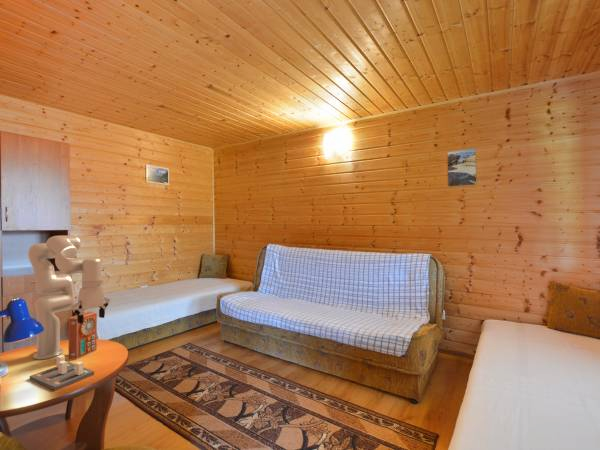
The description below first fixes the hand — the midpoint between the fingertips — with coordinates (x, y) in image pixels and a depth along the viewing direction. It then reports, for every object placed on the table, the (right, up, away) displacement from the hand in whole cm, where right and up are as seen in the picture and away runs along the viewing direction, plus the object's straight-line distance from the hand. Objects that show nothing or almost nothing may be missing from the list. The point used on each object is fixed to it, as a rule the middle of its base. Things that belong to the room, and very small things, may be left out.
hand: (91, 320), depth 148 cm
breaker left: (-16, -23, +1) cm, 28 cm away
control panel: (-18, -25, +20) cm, 37 cm away
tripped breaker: (-10, -23, -5) cm, 26 cm away
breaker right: (-2, -23, -5) cm, 24 cm away
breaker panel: (-10, -25, -5) cm, 27 cm away
